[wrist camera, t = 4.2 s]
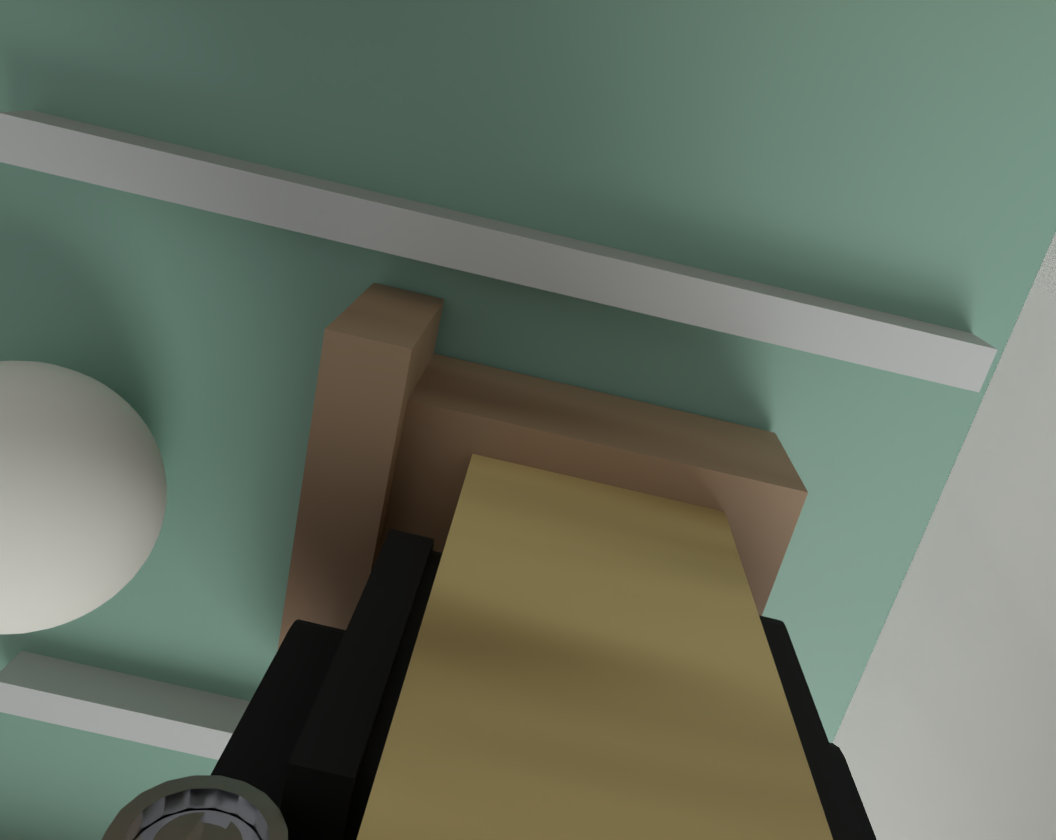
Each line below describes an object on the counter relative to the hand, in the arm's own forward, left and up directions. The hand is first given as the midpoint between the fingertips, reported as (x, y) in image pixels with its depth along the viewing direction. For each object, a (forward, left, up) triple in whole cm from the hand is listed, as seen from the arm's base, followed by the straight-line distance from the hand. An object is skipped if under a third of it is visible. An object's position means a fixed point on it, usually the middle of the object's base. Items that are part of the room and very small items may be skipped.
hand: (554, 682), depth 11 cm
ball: (0, +7, -3) cm, 8 cm away
